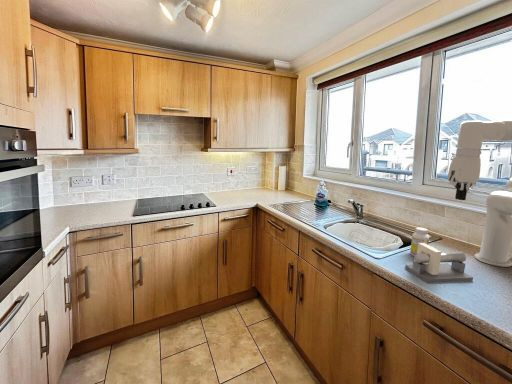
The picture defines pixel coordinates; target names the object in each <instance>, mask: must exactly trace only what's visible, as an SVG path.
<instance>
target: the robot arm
mask: <svg viewBox="0 0 512 384" xmlns="http://www.w3.org/2000/svg"><path fill="white" fill-rule="evenodd" d="M497 141H498V142H512V119H505V120H498V121H497V120H491V121H490V120H489V121H483V120H467V121H466V120H465V121H463V122H461V123H460V126H459V132H458V138H457V143H456V150H455V156H453V157H452V160H451V162H450V166H449V169H448V172H447V181H449V185H451V186H454V188H455V190H456V192H455V200H459V201H466V200H467V194H468V191H469V190H470V188H471V187H473V186H476V185H477V182H479V179H480V174H481V166H482V165H481V160H482V159H481V154H482V145H483V142H497ZM504 189H505V190H496V191H495V190H494V191H492V192H491V193H489V194H488V196H487V197H486V201H485V202H486V203H485V205H486V217H485V222H484V229H483V233H482V239H481V245H480V248H479V252H476V253H475V254H474V258H475V259H476V260H477V261H479V262H482V263H485V264H486V265H487V264H488V265H491V266H496V267H502V268H504V267H505V268H509V267H512V261H511V260H510V259H512V252H511V253H510V251H511V246H512V176H511V177H510V178H509V180H507V182H506V184H505V185H504Z"/></svg>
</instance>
